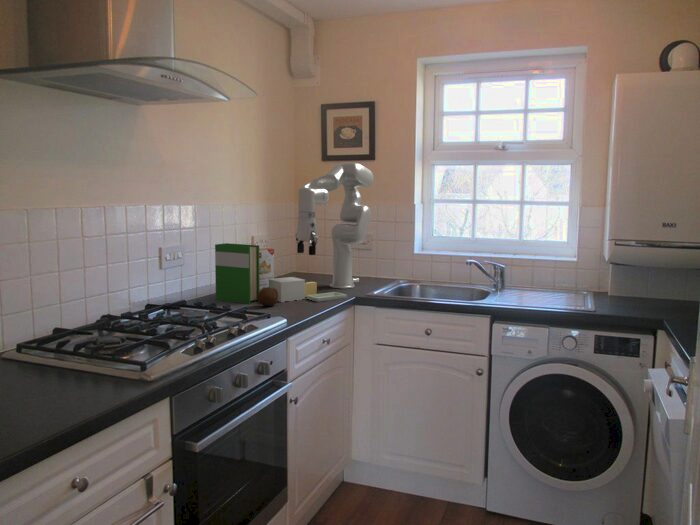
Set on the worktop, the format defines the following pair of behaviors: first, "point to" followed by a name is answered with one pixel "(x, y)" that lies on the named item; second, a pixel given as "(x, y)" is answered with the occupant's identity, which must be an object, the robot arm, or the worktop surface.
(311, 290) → the tan wooden brick
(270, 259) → the cracker box
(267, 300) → the potato
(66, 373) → the worktop surface
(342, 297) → the tray
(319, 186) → the robot arm
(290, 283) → the notched white block
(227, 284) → the hardback book
